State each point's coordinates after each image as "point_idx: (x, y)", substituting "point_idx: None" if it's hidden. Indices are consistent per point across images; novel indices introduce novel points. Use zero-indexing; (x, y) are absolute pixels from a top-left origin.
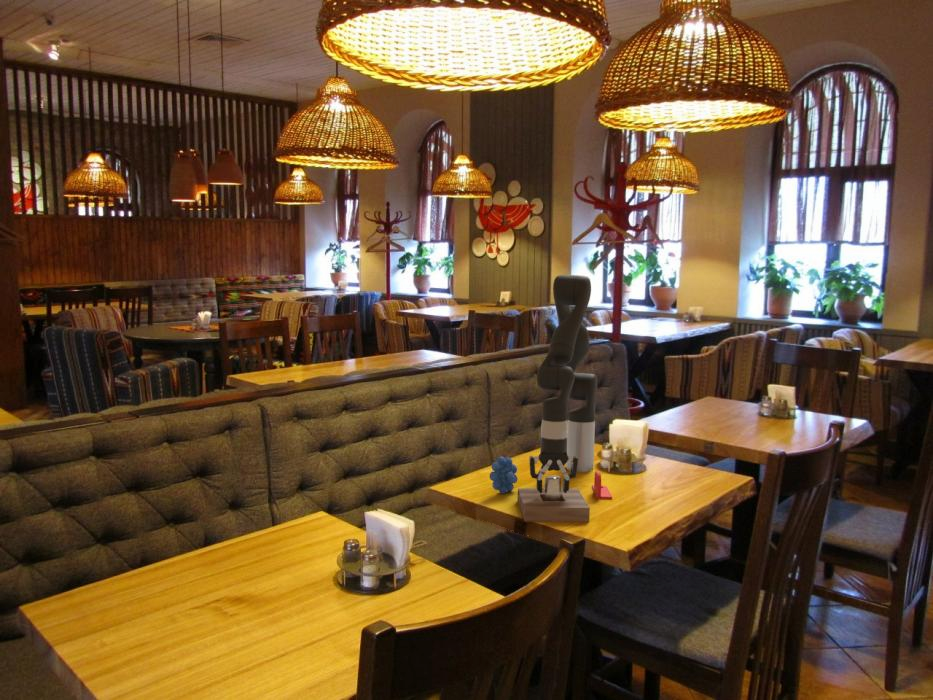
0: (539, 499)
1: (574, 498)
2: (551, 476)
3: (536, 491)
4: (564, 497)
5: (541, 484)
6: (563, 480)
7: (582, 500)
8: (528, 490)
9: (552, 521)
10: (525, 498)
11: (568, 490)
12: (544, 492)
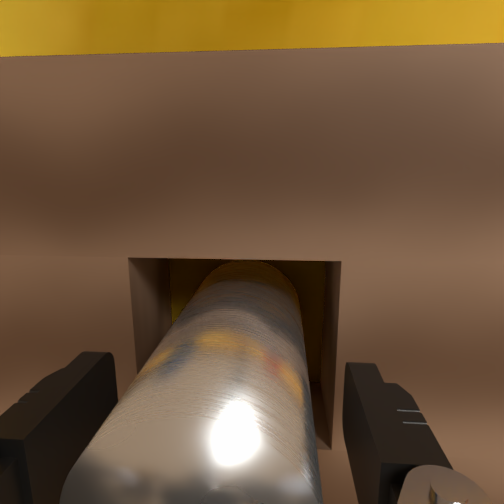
0: (119, 399)
1: (433, 387)
2: (167, 488)
3: (102, 168)
4: (345, 356)
5: (60, 486)
6: (373, 446)
7: (490, 439)
8: (25, 133)
9: None
10: (6, 371)
11: (448, 125)
12: (178, 203)
